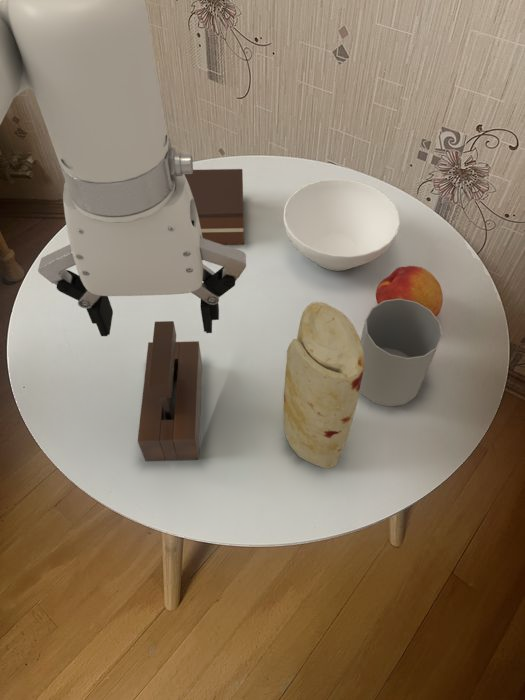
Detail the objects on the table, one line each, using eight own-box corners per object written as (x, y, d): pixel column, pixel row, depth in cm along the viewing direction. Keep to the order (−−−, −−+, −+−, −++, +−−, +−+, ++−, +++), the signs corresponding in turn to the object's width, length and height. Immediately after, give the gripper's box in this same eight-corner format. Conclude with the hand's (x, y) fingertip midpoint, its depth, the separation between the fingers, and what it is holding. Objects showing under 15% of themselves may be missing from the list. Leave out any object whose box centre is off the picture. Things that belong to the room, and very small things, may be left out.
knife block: (145, 461, 64) (137, 441, 59) (154, 365, 71) (148, 342, 67) (198, 460, 64) (194, 439, 60) (202, 364, 71) (198, 341, 67)
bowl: (259, 254, 83) (259, 217, 77) (326, 202, 90) (331, 164, 84) (346, 311, 77) (353, 275, 71) (411, 250, 84) (423, 212, 78)
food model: (355, 465, 63) (389, 364, 47) (300, 483, 62) (315, 386, 46) (322, 395, 69) (342, 282, 53) (270, 410, 67) (274, 300, 51)
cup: (424, 358, 72) (445, 308, 64) (417, 413, 67) (438, 366, 59) (359, 344, 73) (371, 292, 65) (347, 396, 69) (359, 348, 61)
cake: (183, 245, 84) (178, 214, 79) (186, 201, 90) (182, 169, 85) (244, 244, 84) (243, 213, 79) (243, 200, 90) (242, 168, 85)
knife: (164, 440, 65) (148, 385, 55) (169, 382, 70) (154, 321, 60) (182, 440, 65) (168, 384, 55) (185, 381, 70) (173, 320, 60)
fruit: (399, 283, 80) (412, 241, 73) (446, 316, 76) (464, 275, 70) (362, 312, 76) (372, 271, 70) (409, 348, 73) (424, 308, 66)
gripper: (241, 137, 42) (248, 290, 56) (9, 143, 42) (73, 296, 56) (242, 203, 38) (249, 352, 52) (-17, 210, 38) (60, 358, 52)
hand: (158, 322), depth 54 cm, fingers open, 9 cm apart
